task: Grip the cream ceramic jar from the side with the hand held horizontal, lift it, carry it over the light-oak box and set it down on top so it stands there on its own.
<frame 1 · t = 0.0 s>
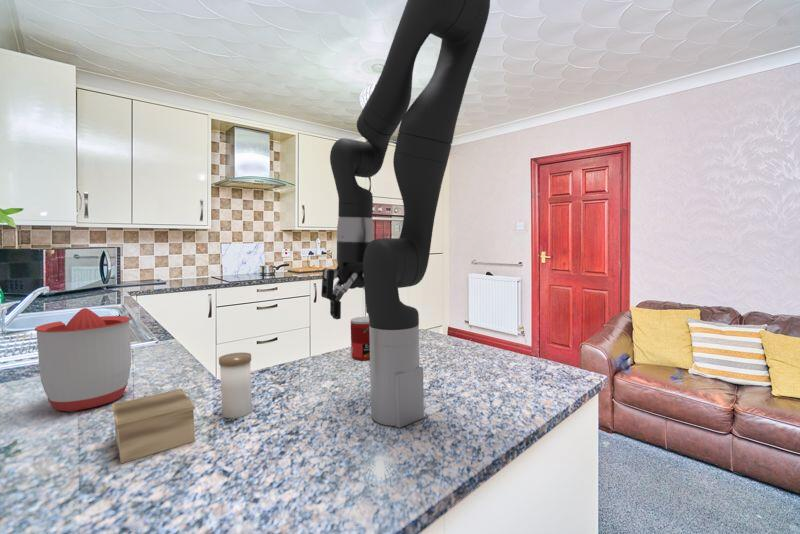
hand: (354, 316, 82), 17 cm above the countertop, tool pointing down, fingers open, 8 cm apart
oak box: (154, 439, 65), on the countertop
canned food: (364, 357, 112), on the countertop
cream jar: (237, 412, 75), on the countertop
citrus juicer: (89, 401, 82), on the countertop
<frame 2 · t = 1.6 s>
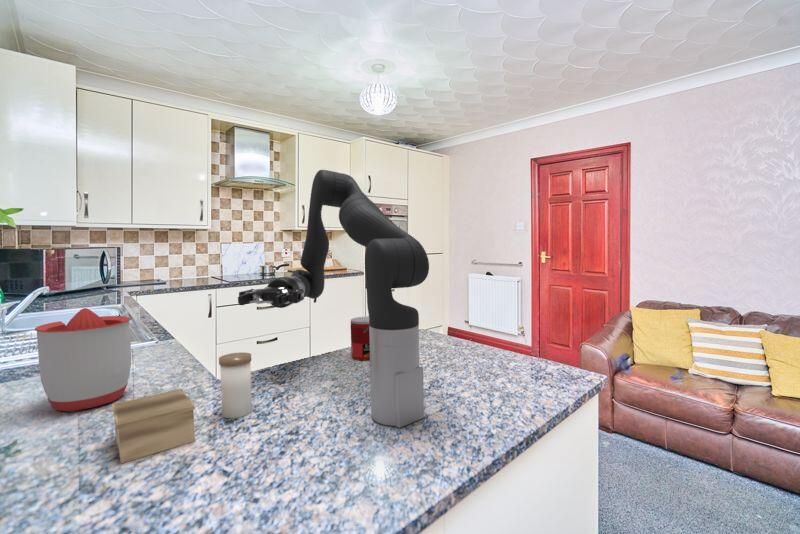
hand: (258, 300, 85), 20 cm above the countertop, tool horizontal, fingers open, 8 cm apart
nothing on the countertop moved.
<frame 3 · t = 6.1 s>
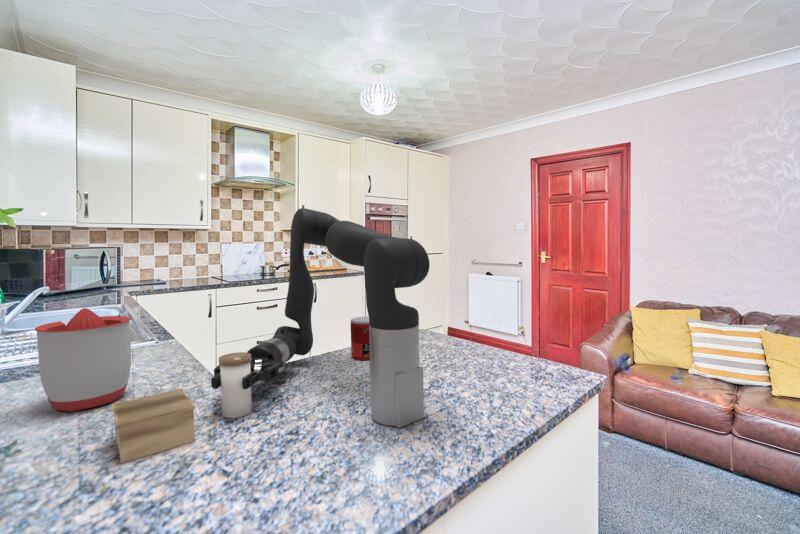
hand: (229, 383, 72), 7 cm above the countertop, tool horizontal, fingers closed on cream jar, 5 cm apart
cream jar: (237, 411, 75), on the countertop, touching gripper
everything else where it was.
when the fingers open (13 cm above the countertop, at t = 10.6 s): cream jar stays where it is, resting on oak box.
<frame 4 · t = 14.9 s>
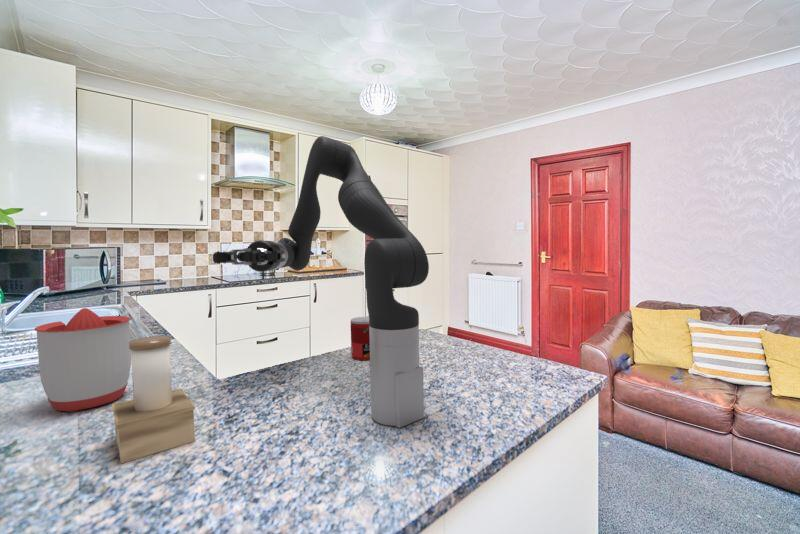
hand: (234, 257, 80), 30 cm above the countertop, tool horizontal, fingers open, 8 cm apart
cream jar: (153, 404, 64), point 6 cm above the countertop, touching oak box
everything else where it was.
at the end: cream jar inside the target area on the oak box (0.1 cm from its centre), point 6.0 cm above the oak box's base; cream jar tilted 0°; the gripper is holding nothing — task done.
